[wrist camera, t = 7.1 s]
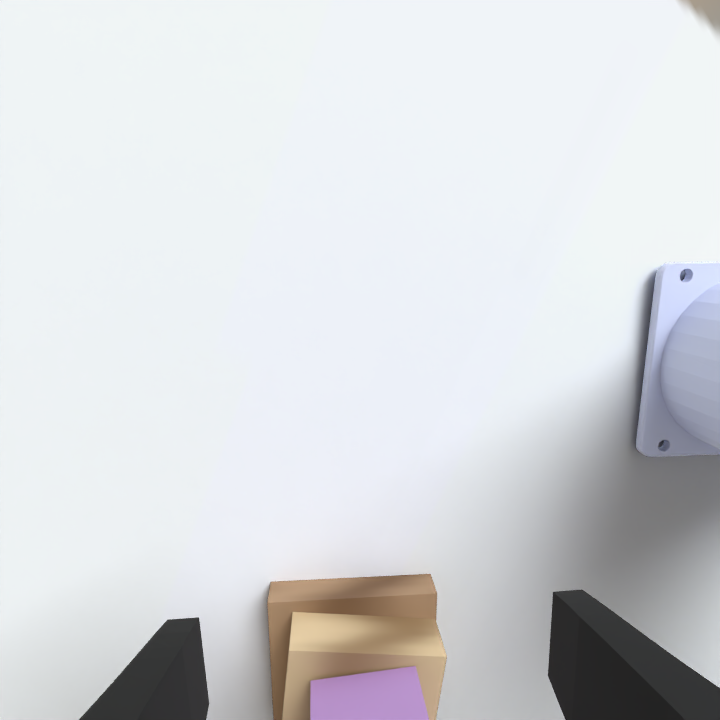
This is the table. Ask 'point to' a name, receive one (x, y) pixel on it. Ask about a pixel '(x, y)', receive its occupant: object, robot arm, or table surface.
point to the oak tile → (360, 654)
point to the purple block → (369, 696)
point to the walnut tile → (340, 609)
